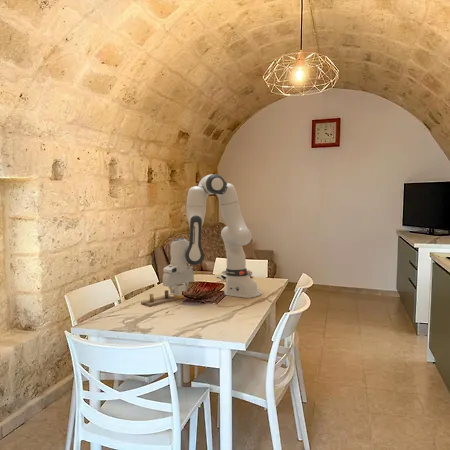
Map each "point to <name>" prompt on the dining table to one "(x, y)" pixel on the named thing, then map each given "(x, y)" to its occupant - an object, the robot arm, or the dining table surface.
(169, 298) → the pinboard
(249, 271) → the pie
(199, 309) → the dining table surface
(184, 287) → the sleeve
